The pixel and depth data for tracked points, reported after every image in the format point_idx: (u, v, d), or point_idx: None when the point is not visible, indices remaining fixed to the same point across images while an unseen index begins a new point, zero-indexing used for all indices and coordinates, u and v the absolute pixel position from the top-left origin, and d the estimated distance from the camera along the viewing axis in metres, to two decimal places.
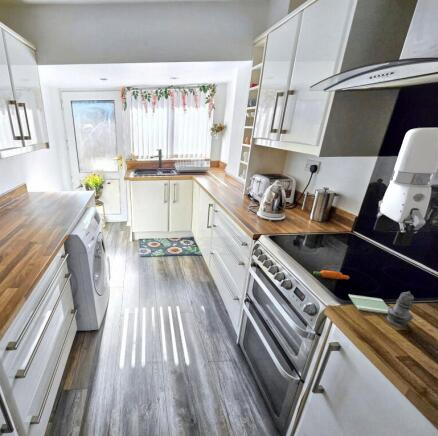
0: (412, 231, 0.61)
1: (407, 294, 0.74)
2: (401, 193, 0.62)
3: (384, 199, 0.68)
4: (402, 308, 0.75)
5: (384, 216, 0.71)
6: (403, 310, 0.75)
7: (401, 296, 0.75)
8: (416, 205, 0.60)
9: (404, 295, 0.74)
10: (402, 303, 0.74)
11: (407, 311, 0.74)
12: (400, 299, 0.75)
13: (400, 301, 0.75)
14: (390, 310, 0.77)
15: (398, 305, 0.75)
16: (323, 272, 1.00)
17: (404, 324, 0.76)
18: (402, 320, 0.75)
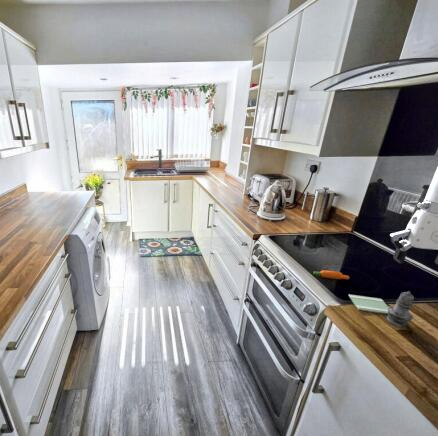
0: (396, 246, 0.70)
1: (407, 294, 0.74)
2: None
3: None
4: (402, 308, 0.75)
5: None
6: (403, 310, 0.75)
7: (401, 296, 0.75)
8: (411, 226, 0.67)
9: (404, 295, 0.74)
10: (402, 303, 0.74)
11: (407, 311, 0.74)
12: (400, 299, 0.75)
13: (400, 301, 0.75)
14: (390, 310, 0.77)
15: (398, 305, 0.75)
16: (323, 272, 1.00)
17: (404, 324, 0.76)
18: (402, 320, 0.75)
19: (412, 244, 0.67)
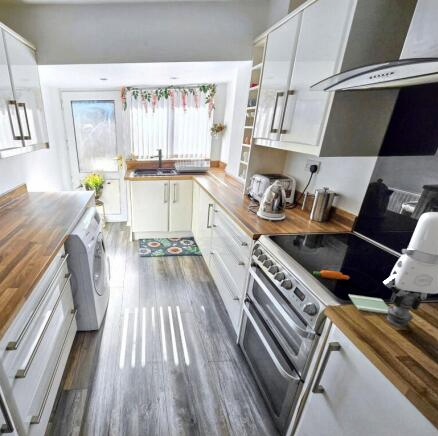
0: (393, 291, 0.75)
1: (407, 294, 0.74)
2: None
3: None
4: (402, 308, 0.75)
5: (416, 294, 0.73)
6: (403, 310, 0.75)
7: None
8: (396, 269, 0.72)
9: (404, 295, 0.74)
10: (402, 303, 0.74)
11: (407, 311, 0.74)
12: None
13: None
14: (390, 310, 0.77)
15: None
16: (323, 272, 1.00)
17: (404, 324, 0.76)
18: (402, 320, 0.75)
19: (398, 287, 0.72)
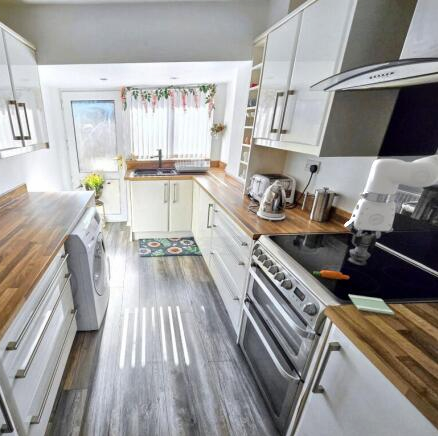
0: (353, 232, 0.85)
1: (365, 234, 0.84)
2: None
3: None
4: (361, 247, 0.85)
5: (373, 234, 0.84)
6: (362, 249, 0.85)
7: None
8: (355, 212, 0.83)
9: (362, 235, 0.85)
10: (361, 243, 0.85)
11: (365, 250, 0.85)
12: None
13: None
14: (352, 251, 0.88)
15: None
16: (323, 272, 1.00)
17: (363, 262, 0.87)
18: (361, 258, 0.85)
19: (356, 227, 0.82)
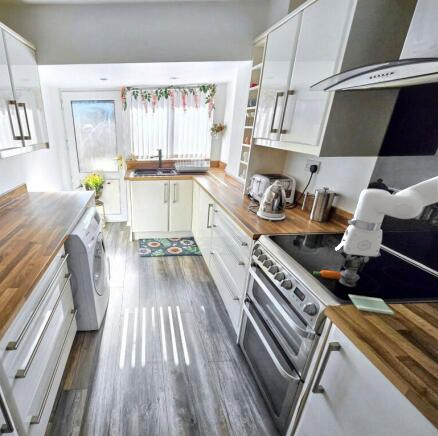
0: (343, 256, 0.90)
1: (354, 258, 0.89)
2: None
3: None
4: (350, 270, 0.90)
5: (361, 258, 0.89)
6: (351, 272, 0.90)
7: None
8: (344, 237, 0.88)
9: (352, 259, 0.89)
10: (350, 266, 0.90)
11: (354, 273, 0.90)
12: None
13: None
14: (342, 273, 0.93)
15: None
16: (323, 272, 1.00)
17: (352, 284, 0.91)
18: (350, 280, 0.90)
19: (345, 251, 0.87)
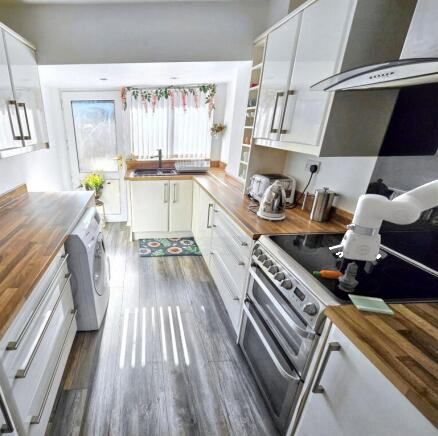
0: (334, 257, 0.91)
1: (352, 264, 0.90)
2: None
3: None
4: (349, 275, 0.91)
5: (370, 260, 0.88)
6: (349, 278, 0.91)
7: (348, 266, 0.91)
8: (343, 242, 0.89)
9: (350, 265, 0.90)
10: (349, 272, 0.91)
11: (353, 278, 0.91)
12: (347, 268, 0.91)
13: (347, 270, 0.91)
14: (340, 278, 0.94)
15: (346, 274, 0.92)
16: (323, 272, 1.00)
17: (351, 289, 0.92)
18: (349, 286, 0.91)
19: (344, 256, 0.88)
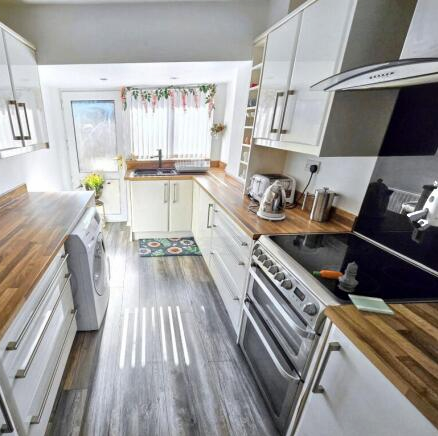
0: (414, 226, 0.71)
1: (352, 264, 0.90)
2: None
3: None
4: (349, 275, 0.91)
5: None
6: (349, 278, 0.91)
7: (348, 266, 0.91)
8: (428, 205, 0.68)
9: (350, 265, 0.90)
10: (349, 272, 0.91)
11: (353, 278, 0.91)
12: (347, 268, 0.91)
13: (347, 270, 0.91)
14: (340, 278, 0.94)
15: (346, 274, 0.92)
16: (323, 272, 1.00)
17: (351, 289, 0.92)
18: (349, 286, 0.91)
19: (431, 223, 0.67)
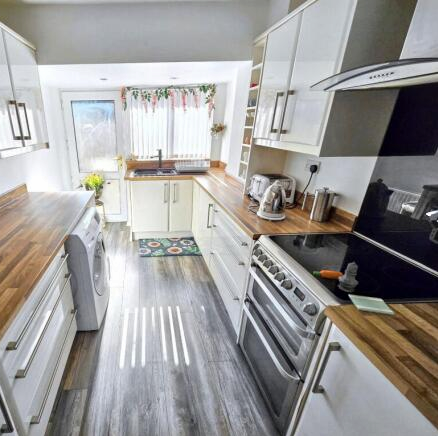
0: (433, 226, 0.67)
1: (352, 264, 0.90)
2: None
3: None
4: (349, 275, 0.91)
5: None
6: (349, 278, 0.91)
7: (348, 266, 0.91)
8: None
9: (350, 265, 0.90)
10: (349, 272, 0.91)
11: (353, 278, 0.91)
12: (347, 268, 0.91)
13: (347, 270, 0.91)
14: (340, 278, 0.94)
15: (346, 274, 0.92)
16: (323, 272, 1.00)
17: (351, 289, 0.92)
18: (349, 286, 0.91)
19: None
